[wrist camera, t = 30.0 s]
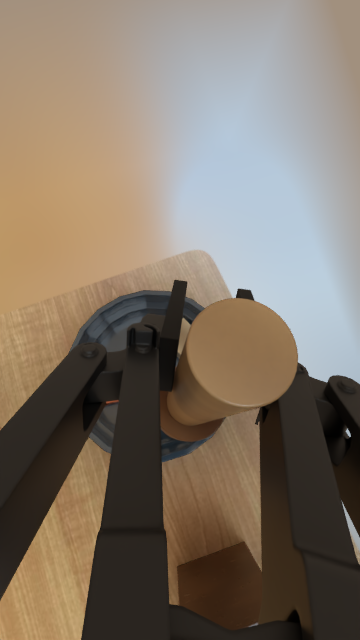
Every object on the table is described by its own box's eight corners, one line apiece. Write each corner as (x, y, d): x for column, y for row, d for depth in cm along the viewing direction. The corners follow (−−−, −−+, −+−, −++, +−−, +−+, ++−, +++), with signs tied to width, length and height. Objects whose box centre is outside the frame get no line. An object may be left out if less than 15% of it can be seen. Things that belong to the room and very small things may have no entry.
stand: (244, 541, 33) (283, 611, 22) (269, 625, 31) (328, 751, 20) (177, 566, 33) (181, 652, 21) (198, 654, 30) (216, 804, 19)
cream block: (182, 325, 40) (183, 317, 37) (200, 343, 39) (203, 337, 36) (163, 342, 39) (162, 336, 36) (181, 361, 39) (182, 357, 35)
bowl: (202, 290, 42) (206, 274, 37) (247, 427, 37) (260, 430, 32) (67, 325, 40) (52, 313, 35) (96, 476, 35) (84, 488, 30)
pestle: (178, 360, 23) (217, 241, 9) (229, 398, 22) (360, 333, 8) (139, 412, 21) (111, 365, 7) (193, 456, 20) (278, 496, 6)
